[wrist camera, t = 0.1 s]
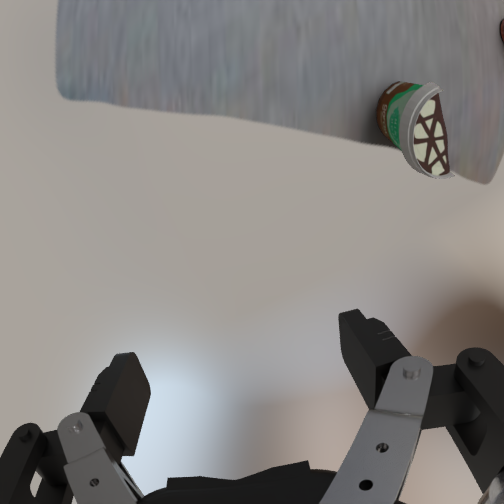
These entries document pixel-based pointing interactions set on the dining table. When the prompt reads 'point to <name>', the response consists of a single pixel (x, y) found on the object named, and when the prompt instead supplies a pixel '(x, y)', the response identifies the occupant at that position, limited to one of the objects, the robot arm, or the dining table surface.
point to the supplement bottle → (502, 30)
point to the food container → (416, 126)
